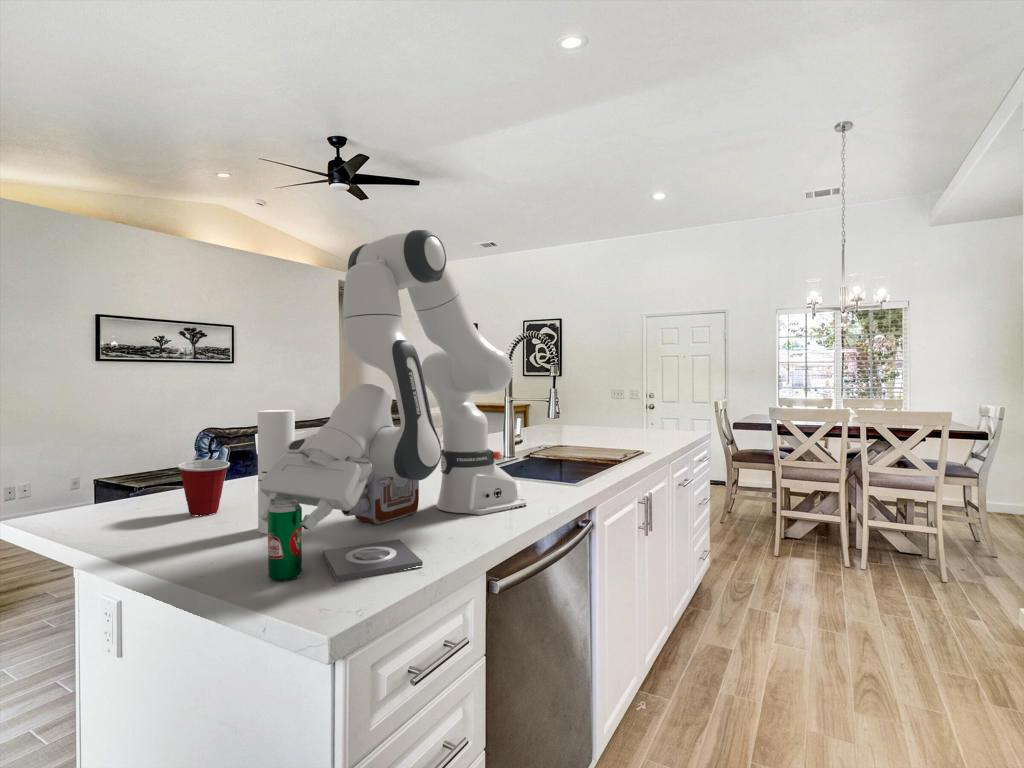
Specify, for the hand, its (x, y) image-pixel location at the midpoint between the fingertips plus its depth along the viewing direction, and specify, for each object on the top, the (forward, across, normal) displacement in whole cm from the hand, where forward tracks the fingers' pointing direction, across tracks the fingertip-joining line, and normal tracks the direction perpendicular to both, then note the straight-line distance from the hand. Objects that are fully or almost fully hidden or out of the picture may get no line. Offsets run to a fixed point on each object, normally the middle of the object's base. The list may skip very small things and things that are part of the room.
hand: (285, 524), depth 87 cm
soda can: (+6, 0, -6) cm, 9 cm away
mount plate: (-3, -7, -15) cm, 16 cm away
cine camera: (-18, +11, -30) cm, 37 cm away
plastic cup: (-7, +50, -19) cm, 54 cm away
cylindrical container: (-6, +24, -18) cm, 31 cm away
